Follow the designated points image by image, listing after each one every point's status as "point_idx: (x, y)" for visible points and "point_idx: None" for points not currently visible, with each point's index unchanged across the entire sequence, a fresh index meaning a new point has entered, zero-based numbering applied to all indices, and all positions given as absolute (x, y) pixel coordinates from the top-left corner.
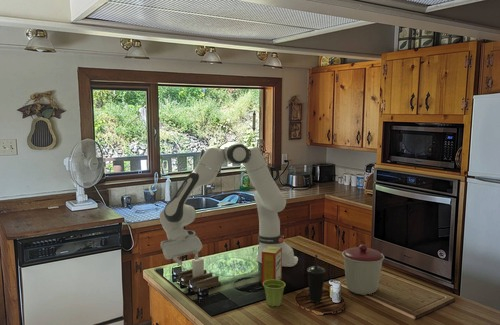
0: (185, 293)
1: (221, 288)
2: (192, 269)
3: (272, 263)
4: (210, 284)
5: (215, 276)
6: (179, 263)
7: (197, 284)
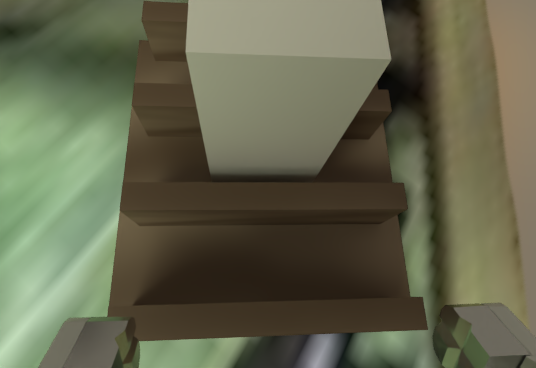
0: (418, 106)
1: None
2: (341, 135)
3: None
4: None
5: (174, 8)
6: (502, 315)
7: None
